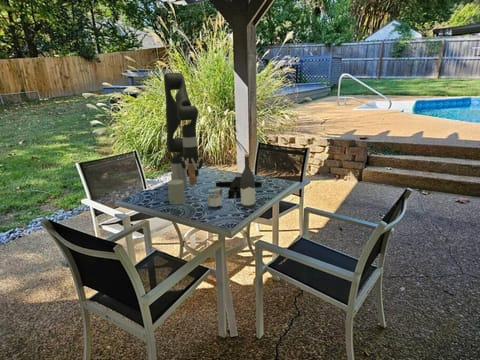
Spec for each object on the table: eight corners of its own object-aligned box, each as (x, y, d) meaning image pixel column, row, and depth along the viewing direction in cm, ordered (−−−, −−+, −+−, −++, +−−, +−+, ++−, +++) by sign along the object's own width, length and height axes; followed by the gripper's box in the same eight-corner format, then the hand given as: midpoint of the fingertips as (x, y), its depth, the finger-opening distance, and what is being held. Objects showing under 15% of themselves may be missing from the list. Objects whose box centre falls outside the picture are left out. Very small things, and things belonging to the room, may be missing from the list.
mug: (206, 209, 176) (205, 196, 173) (213, 200, 188) (212, 187, 185) (219, 210, 174) (218, 196, 171) (225, 201, 186) (225, 188, 184)
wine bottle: (253, 201, 184) (252, 151, 175) (256, 207, 176) (255, 155, 167) (240, 203, 183) (238, 152, 173) (242, 208, 175) (240, 156, 166)
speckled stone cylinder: (166, 201, 190) (164, 181, 186) (181, 197, 195) (179, 178, 191) (173, 205, 182) (171, 185, 178) (188, 201, 188) (186, 182, 184)
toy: (209, 190, 190) (218, 175, 219) (210, 198, 192) (218, 182, 220) (260, 190, 187) (262, 175, 216) (260, 199, 189) (262, 182, 217)
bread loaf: (188, 184, 171) (186, 163, 167) (191, 182, 175) (189, 161, 171) (195, 185, 170) (193, 163, 166) (198, 182, 174) (196, 161, 170)
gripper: (174, 146, 163) (177, 177, 169) (200, 146, 160) (202, 178, 166) (180, 143, 170) (183, 173, 176) (205, 143, 167) (207, 174, 173)
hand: (192, 175), depth 171 cm, fingers closed on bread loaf, 4 cm apart
